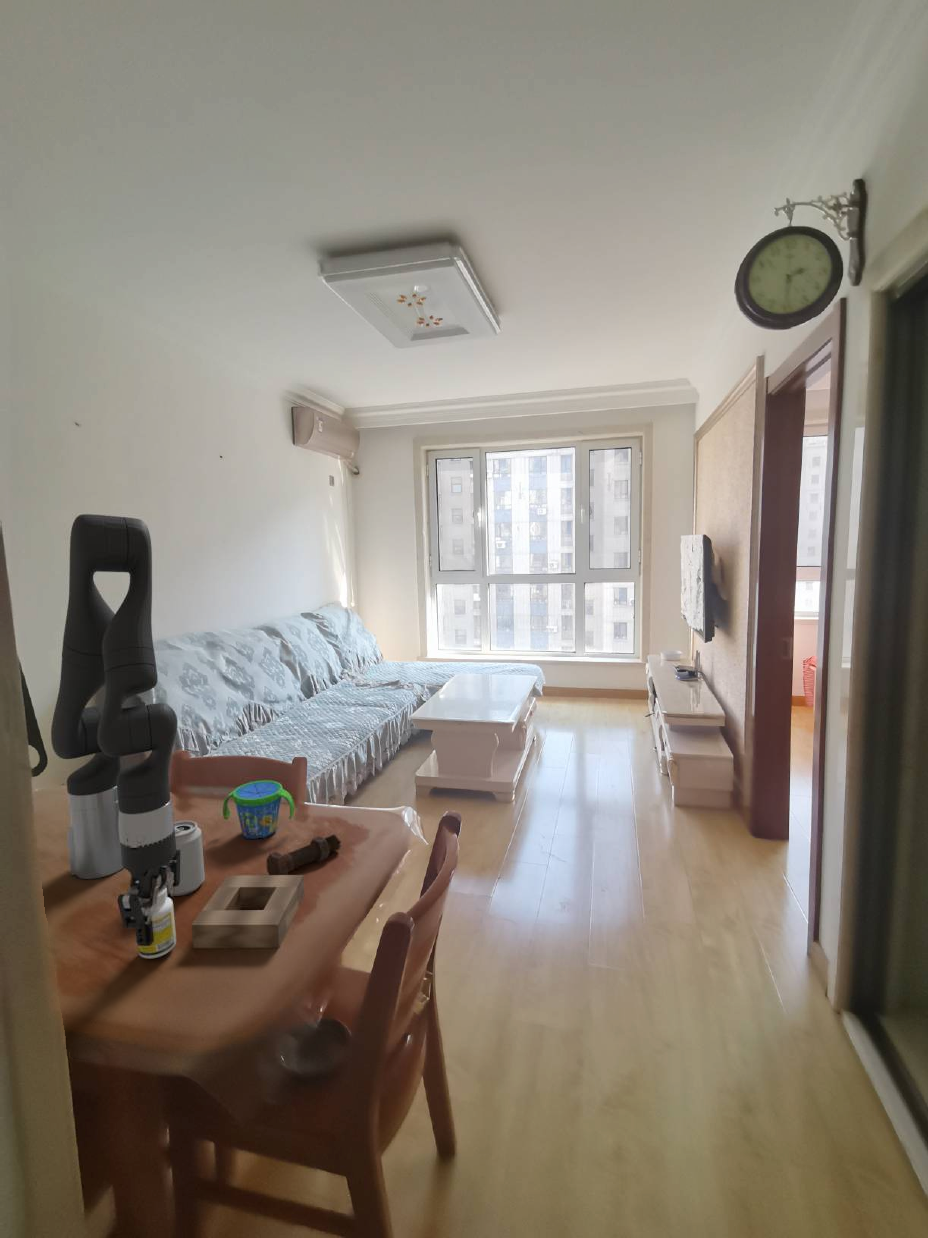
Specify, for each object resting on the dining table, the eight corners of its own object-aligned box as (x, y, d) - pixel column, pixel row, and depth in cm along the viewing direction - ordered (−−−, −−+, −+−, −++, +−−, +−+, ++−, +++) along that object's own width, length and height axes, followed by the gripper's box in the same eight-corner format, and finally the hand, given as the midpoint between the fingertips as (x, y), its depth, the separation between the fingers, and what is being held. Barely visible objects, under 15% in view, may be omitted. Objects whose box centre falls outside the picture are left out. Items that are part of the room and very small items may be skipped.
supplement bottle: (147, 937, 95) (143, 882, 94) (181, 935, 96) (177, 880, 94) (131, 961, 90) (126, 902, 89) (168, 959, 90) (163, 900, 89)
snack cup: (302, 822, 136) (300, 781, 134) (283, 845, 125) (280, 800, 124) (239, 819, 137) (236, 778, 136) (215, 842, 127) (212, 798, 126)
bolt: (339, 859, 123) (275, 888, 112) (327, 841, 126) (263, 868, 115) (347, 841, 121) (282, 869, 109) (335, 823, 123) (270, 849, 112)
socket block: (193, 948, 94) (191, 925, 93) (229, 895, 107) (227, 875, 107) (279, 947, 93) (277, 924, 93) (304, 895, 107) (303, 875, 107)
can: (214, 879, 113) (209, 821, 111) (184, 901, 106) (179, 840, 104) (183, 872, 115) (179, 815, 114) (152, 894, 108) (147, 833, 107)
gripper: (149, 810, 97) (157, 903, 99) (93, 856, 83) (104, 964, 85) (193, 810, 97) (200, 903, 99) (145, 856, 83) (154, 964, 85)
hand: (156, 931), depth 92 cm, fingers closed on supplement bottle, 5 cm apart
